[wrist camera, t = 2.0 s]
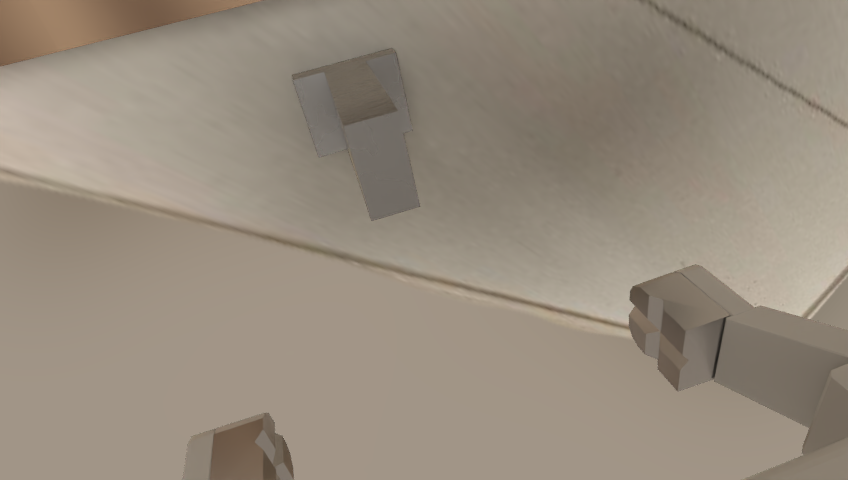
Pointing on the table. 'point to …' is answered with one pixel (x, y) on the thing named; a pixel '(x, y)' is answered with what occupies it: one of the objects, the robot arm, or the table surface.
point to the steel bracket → (363, 125)
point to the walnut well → (88, 22)
